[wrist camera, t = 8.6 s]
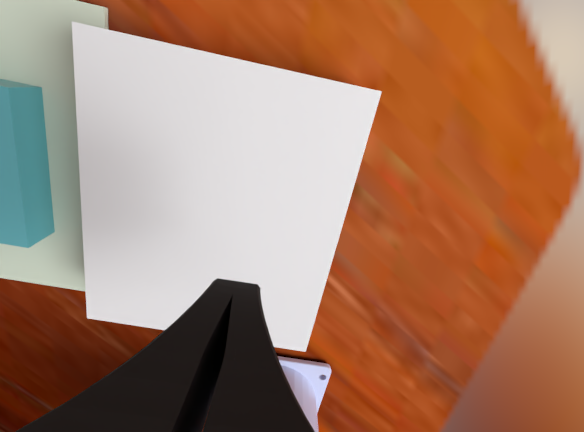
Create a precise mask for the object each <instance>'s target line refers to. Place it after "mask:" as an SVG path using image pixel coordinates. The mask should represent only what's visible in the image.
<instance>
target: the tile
mask: <svg viewBox="0 0 584 432" xmlns="http://www.w3.org/2000/svg"><path fill="white" fill-rule="evenodd" d="M54 232H55V229H54V218H53V207H52V195H51V184H50V173H49V162H48V150H47V139H46V128H45V117H44V105H43V94H42V87H38V86H33V85H28V84H23V83H19V82H14V81H9V80H4V79H0V243H1V244H7V245H13V246H19V247H25V248H29V247H31V246H33V245H34V244H36V243H38V242H39V241H41V240H42V239H44V238H46V237H47V236H49V235H51V234H52V233H54Z"/></svg>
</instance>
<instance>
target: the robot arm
mask: <svg viewBox="0 0 584 432" xmlns="http://www.w3.org/2000/svg"><path fill="white" fill-rule="evenodd" d="M330 375H331V367H330V365H329V364H326V363H320V362H314V361H307V360H301V359H294V358H287V357H281V356H277V354H276V351H275V349H274V346H273V343H272V340H271V337H270V334H269V331H268V327H267V324H266V321H265V317H264V312H263V308H262V302H261V294H260V287H259V286H258V284H252V283H246V282H239V281H232V280H226V279H219V278H217V279H216V280H214V281H213V282H212V283H211V285H210V286H209V287H208V288H207V289H206V290H205V291H204V293H203V294H202V295H201V296H200V297H199V298H198V299H197V300H196V301H195V302H194V303H193V304H192V305H191V306H190V307H189V308H188V309H187V310H186V311H185V312H184V313H183V314H182V315H181V316H180V317H179V318H178V319H177V320H176V321H175V322H174V323H173V324H171V325H170V326H169V327H168V328H167V329H166V330H165V331H163V332H162V333H161V334H160V335H159V336H158V337H156V338H155V339H154V340H153V341H152V342H151V343H149V344H148V345H147V346H146V347H144V348H143V349H142V350H141V351H139V352H138V353H137V354H136V355H134V356H133V357H132V358H130V359H129V360H128V361H126V362H125V363H123V364H122V365H121V366H119V367H118V368H117V369H115V370H114V371H112V372H111V373H110V374H108V375H107V376H105V377H104V378H102V379H101V380H99V381H98V382H96V383H95V384H93V385H92V386H90V387H89V388H87V389H86V390H84V391H83V392H81V393H80V394H78V395H77V396H75V397H73V398H72V399H70V400H69V401H67V402H65V403H64V404H62V405H61V406H59V407H57V408H55V409H54V410H52V411H50V412H48V413H47V414H45V415H43V416H42V417H40V418H38V419H36V420H35V421H33V422H31V423H29V424H28V425H26V426H24V427H23V428H21V429H19V430H17V431H16V432H202V429H203V426H204V423H205V420H206V423H205V426H204V430H203V432H318V420H317V413H318V410H319V407H320V404H321V401H322V398H323V395H324V392H325V389H326V386H327V383H328V381H329V378H330ZM209 408H210V409H209ZM208 411H209V412H208ZM207 414H208V416H207ZM206 417H207V419H206Z"/></svg>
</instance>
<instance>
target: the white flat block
mask: <svg viewBox="0 0 584 432" xmlns="http://www.w3.org/2000/svg"><path fill="white" fill-rule="evenodd" d="M72 38H73V58H74V77H75V96H76V116H77V135H78V154H79V173H80V193H81V212H82V231H83V251H84V270H85V289H86V308H87V318H88V319H95V320H102V321H108V322H115V323H121V324H128V325H134V326H141V327H147V328H154V329H160V330H166V329H167V328H168V327H169V326H170V325H171V324H173V323H174V322H175V321H176V320H177V319H178V318H179V317H180V316H181V315H182V314H183V313H184V312H185V311H186V310H187V309H188V308H189V307H190V306H191V305H192V304H193V303H194V302H195V301H196V300H197V299H198V298H199V297H200V296H201V295H202V294H203V293H204V291H205V290H206V289H207V288H208V287H209V286H210V285H211V283H212V282H213V281H214V280H216V279H217V278H219V279H226V280H232V281H239V282H246V283H252V284H258V286H259V287H260V294H261V302H262V308H263V312H264V317H265V321H266V324H267V327H268V331H269V334H270V337H271V340H272V343H273V346H274V347H278V348H284V349H291V350H297V351H304V352H306V349H307V346H308V342H309V339H310V335H311V332H312V328H313V325H314V322H315V318H316V315H317V311H318V308H319V304H320V301H321V298H322V294H323V291H324V287H325V284H326V280H327V277H328V274H329V270H330V267H331V263H332V260H333V256H334V253H335V250H336V246H337V243H338V239H339V236H340V232H341V229H342V226H343V222H344V219H345V215H346V212H347V208H348V205H349V202H350V198H351V195H352V191H353V188H354V184H355V181H356V178H357V174H358V171H359V167H360V164H361V160H362V157H363V154H364V150H365V147H366V143H367V140H368V136H369V133H370V130H371V126H372V123H373V119H374V116H375V112H376V109H377V106H378V102H379V99H380V95H381V92H382V91H377V90H373V89H369V88H364V87H360V86H355V85H351V84H346V83H342V82H338V81H333V80H329V79H324V78H320V77H315V76H311V75H307V74H302V73H298V72H293V71H289V70H285V69H280V68H276V67H271V66H267V65H262V64H258V63H254V62H249V61H245V60H240V59H236V58H232V57H227V56H223V55H218V54H214V53H209V52H205V51H201V50H196V49H192V48H187V47H183V46H179V45H174V44H170V43H165V42H161V41H156V40H152V39H148V38H143V37H139V36H134V35H130V34H126V33H121V32H117V31H112V30H108V29H103V28H99V27H95V26H90V25H86V24H81V23H77V22H72Z"/></svg>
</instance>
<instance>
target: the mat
mask: <svg viewBox="0 0 584 432" xmlns="http://www.w3.org/2000/svg"><path fill="white" fill-rule="evenodd" d="M72 22H77V23H81V24H86V25H90V26H95V27H99V28H103V29H108V8H105V7H102V6H98V5H93V4H89V3H85V2H80V1H76V0H0V79H4V80H9V81H14V82H19V83H23V84H28V85H33V86H38V87H42V94H43V105H44V117H45V128H46V139H47V150H48V162H49V173H50V184H51V195H52V207H53V218H54V229H55V232H54V233H52V234H51V235H49V236H47V237H46V238H44V239H42V240H41V241H39V242H38V243H36V244H34V245H33V246H31V247H29V248H25V247H19V246H13V245H7V244H1V243H0V278H5V279H11V280H17V281H23V282H30V283H36V284H42V285H48V286H55V287H61V288H67V289H73V290H80V291H86V289H85V270H84V251H83V231H82V212H81V193H80V173H79V154H78V135H77V116H76V96H75V77H74V58H73V38H72Z"/></svg>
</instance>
